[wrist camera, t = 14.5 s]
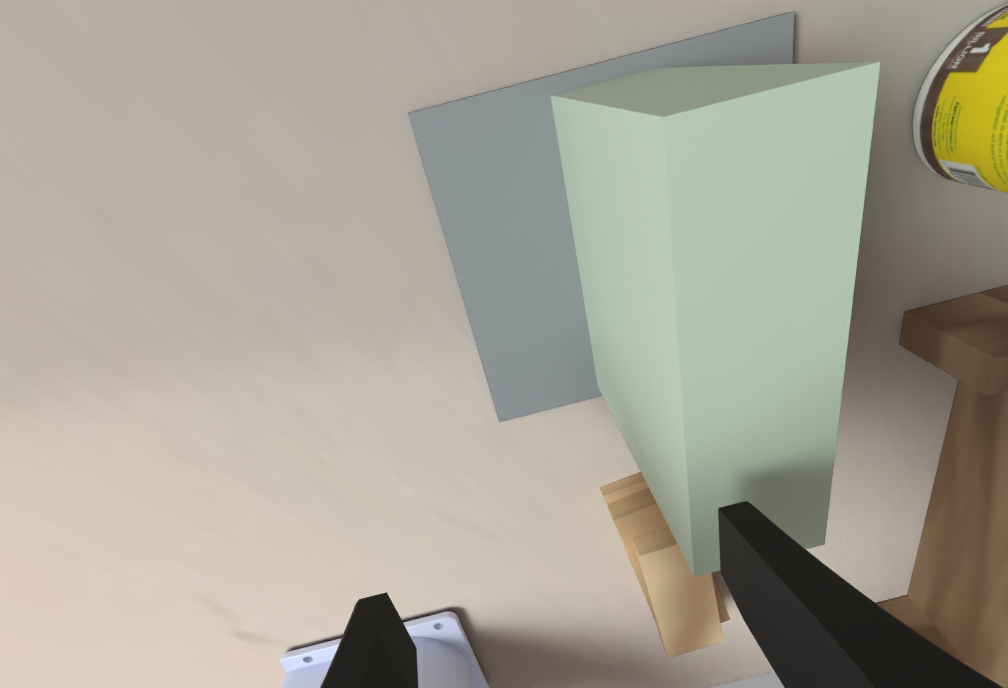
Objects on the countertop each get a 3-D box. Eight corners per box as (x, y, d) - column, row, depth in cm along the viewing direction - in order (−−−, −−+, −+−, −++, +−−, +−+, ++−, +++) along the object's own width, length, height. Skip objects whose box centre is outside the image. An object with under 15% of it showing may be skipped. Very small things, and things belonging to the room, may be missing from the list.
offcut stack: (653, 620, 30) (674, 672, 28) (595, 481, 25) (614, 530, 22) (716, 598, 30) (743, 649, 27) (672, 452, 24) (700, 499, 22)
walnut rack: (853, 624, 32) (935, 733, 27) (904, 312, 21) (1056, 390, 16) (928, 605, 32) (1025, 710, 27) (1017, 282, 21) (1206, 351, 16)
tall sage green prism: (597, 387, 21) (694, 577, 13) (550, 95, 16) (662, 117, 8) (679, 366, 21) (824, 544, 13) (658, 67, 16) (880, 61, 8)
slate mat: (498, 416, 22) (499, 422, 21) (408, 112, 16) (408, 113, 16) (776, 345, 21) (781, 349, 21) (786, 12, 16) (794, 11, 15)
